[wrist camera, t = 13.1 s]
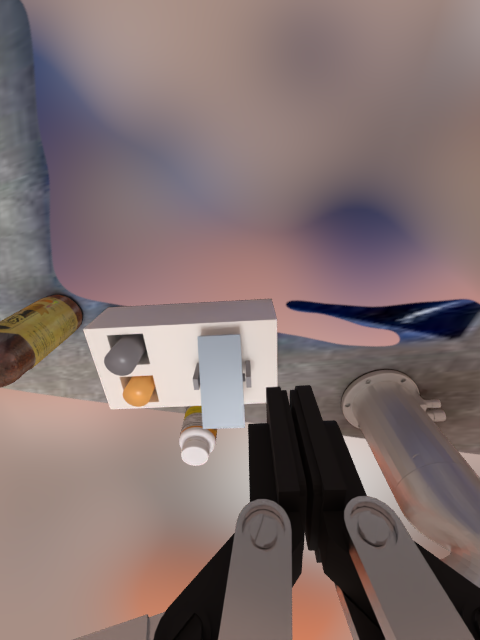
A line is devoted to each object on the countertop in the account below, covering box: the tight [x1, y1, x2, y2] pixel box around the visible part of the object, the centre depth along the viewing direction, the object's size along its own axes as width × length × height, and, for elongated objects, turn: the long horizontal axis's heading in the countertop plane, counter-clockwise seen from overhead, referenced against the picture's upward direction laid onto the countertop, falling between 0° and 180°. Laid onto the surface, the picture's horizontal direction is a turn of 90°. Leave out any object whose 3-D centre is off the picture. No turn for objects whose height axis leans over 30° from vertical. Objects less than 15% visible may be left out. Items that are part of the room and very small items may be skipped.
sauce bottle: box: [0, 295, 82, 387], centre depth 32 cm, size 7×6×20 cm
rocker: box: [197, 334, 246, 429], centre depth 33 cm, size 6×11×2 cm, turn 3°
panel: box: [83, 299, 277, 409], centre depth 38 cm, size 24×13×10 cm, turn 94°
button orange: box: [123, 375, 156, 407], centre depth 40 cm, size 4×4×8 cm
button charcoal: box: [104, 334, 146, 376], centre depth 36 cm, size 4×4×8 cm
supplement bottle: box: [179, 406, 217, 466], centre depth 44 cm, size 6×6×10 cm
